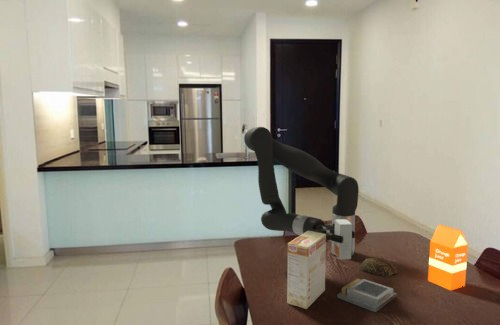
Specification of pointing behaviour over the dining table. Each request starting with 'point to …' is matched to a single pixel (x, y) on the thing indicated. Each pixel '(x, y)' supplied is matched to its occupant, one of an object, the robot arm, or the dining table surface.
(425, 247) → the dining table surface
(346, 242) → the skincare box
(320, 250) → the coffeecake box
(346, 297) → the jig
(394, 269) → the bread roll
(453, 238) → the orange juice
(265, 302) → the dining table surface
